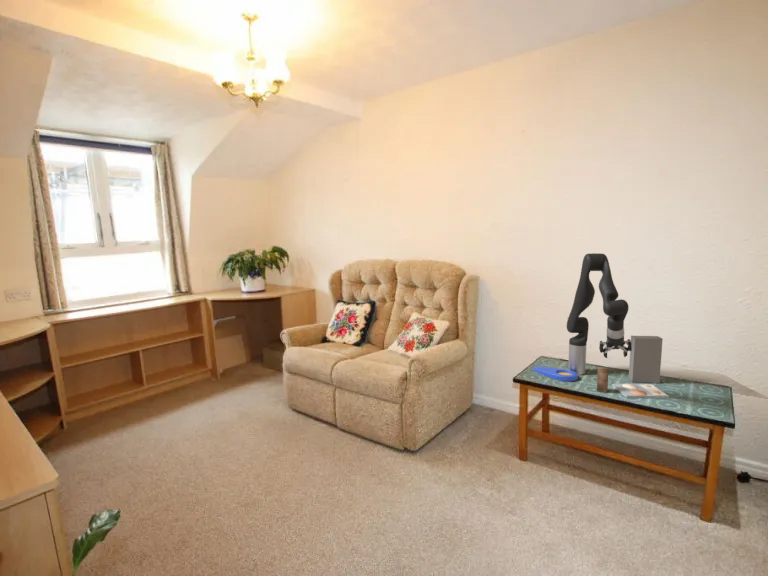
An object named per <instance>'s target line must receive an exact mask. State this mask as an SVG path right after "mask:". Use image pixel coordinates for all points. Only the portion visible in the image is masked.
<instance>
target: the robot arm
mask: <svg viewBox="0 0 768 576" xmlns="http://www.w3.org/2000/svg"><path fill="white" fill-rule="evenodd" d="M591 272H601V273H602V276H601V277H600V280H599V283H598V289H599V292H600V295H601V298H602V311H603V313H604V314H605V315H606V316H607V319H606V321H607V322H606V323H607V325H606V341H602V340H600V341H599V346H598V347H599V353H600V354H602V353H603V357H604V358H606V359H607V358H608V352H610V351H612V350H620V349H621V351H622V353H623V357H624V358H626V357H627V356H628V353H629V352H630V351H632V346H631V338H629V339H627V340H625V326H624V325H625V324H624V323H625V319H626V317H627V315H628V313H629V304H628V302H627V301H626V300H625V299H622V298H621V299H618V298H619V292H618V290H617V287H616V286H615V285H616V284H615V283H614V279H613V275H612V270H611V267H610V262H609V259H608V257H607V255H606V254H604V253H595V252H594V253H586V254H585V255H584V256H583V260H582V264H581V269H580V276H579V280H578V284H577V288H576V290H575V294H574V299H573V304H572V306H571V310H570V312H569V315H568V317H567V321H566V330H567V332H568V333H569V334H576V335H575V336H572V337H570V338H569V342H568V364H567V365H568V366H567V370H571V371H574V372H576V373H577V374H578V376H579V375H580V376H581V375H582V374H583V375H585V374H586V366H587V364H586V363H587V342H588V336H589V327H590V326H589V324H590V323H589V320H588V318H587V317H585V316H580V315H581V314H582V313H583V312H584V311H585V310H586V309H588V308H589V307H590V306H591V305H592V303H593V302H594V297H595V294H596V289H595V287H594V285H593V283H592V281H591V278H590V274H591ZM626 345H627V347H626Z"/></svg>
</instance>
